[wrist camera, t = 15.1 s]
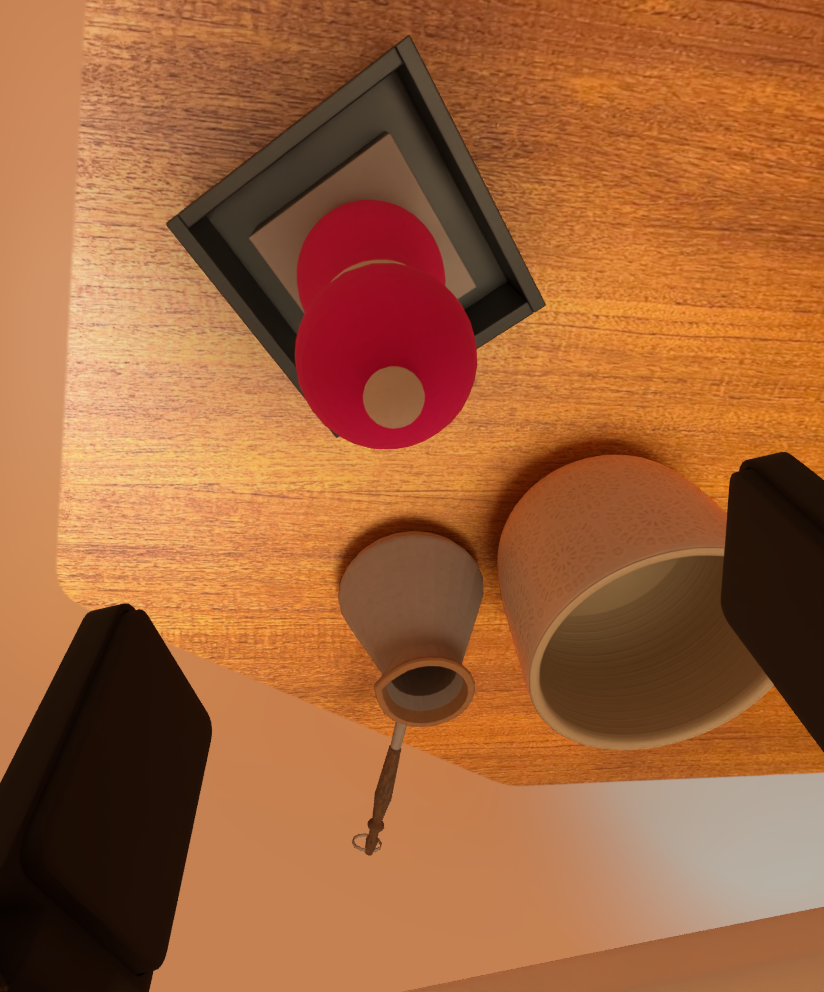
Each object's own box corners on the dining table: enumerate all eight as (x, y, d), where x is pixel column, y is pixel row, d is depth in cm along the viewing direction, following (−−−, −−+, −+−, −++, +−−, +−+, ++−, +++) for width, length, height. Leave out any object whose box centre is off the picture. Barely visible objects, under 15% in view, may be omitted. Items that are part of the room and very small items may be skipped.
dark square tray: (399, 45, 33) (409, 34, 28) (521, 282, 40) (546, 305, 35) (187, 209, 36) (164, 223, 31) (336, 402, 43) (336, 438, 38)
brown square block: (385, 130, 34) (390, 132, 31) (464, 272, 39) (476, 286, 35) (256, 226, 36) (247, 238, 33) (346, 350, 41) (347, 372, 37)
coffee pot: (358, 500, 47) (365, 642, 35) (497, 529, 50) (550, 670, 37) (299, 691, 58) (288, 855, 45) (417, 706, 60) (438, 865, 48)
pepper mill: (403, 165, 32) (475, 223, 15) (452, 297, 36) (555, 464, 19) (276, 226, 33) (209, 346, 16) (337, 348, 36) (335, 552, 19)
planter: (504, 417, 45) (571, 539, 32) (719, 435, 48) (860, 555, 35) (463, 598, 54) (502, 751, 41) (646, 605, 56) (738, 752, 43)
